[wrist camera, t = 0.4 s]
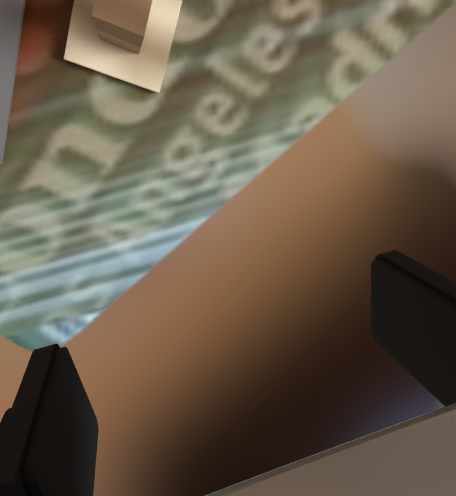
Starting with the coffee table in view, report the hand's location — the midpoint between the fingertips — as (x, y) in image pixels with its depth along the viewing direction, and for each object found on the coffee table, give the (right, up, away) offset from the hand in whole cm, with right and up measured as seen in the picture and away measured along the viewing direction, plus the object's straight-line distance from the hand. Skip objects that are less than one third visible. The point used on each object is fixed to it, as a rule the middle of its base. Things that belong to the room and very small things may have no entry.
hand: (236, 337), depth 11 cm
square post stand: (-9, +21, +21) cm, 31 cm away
